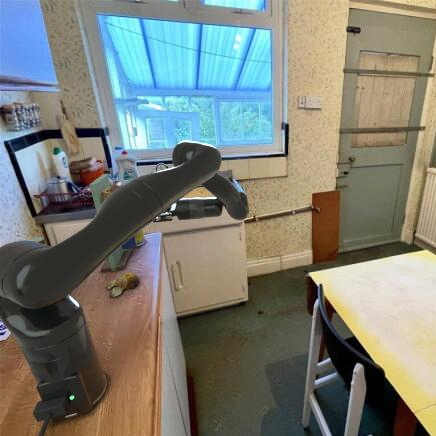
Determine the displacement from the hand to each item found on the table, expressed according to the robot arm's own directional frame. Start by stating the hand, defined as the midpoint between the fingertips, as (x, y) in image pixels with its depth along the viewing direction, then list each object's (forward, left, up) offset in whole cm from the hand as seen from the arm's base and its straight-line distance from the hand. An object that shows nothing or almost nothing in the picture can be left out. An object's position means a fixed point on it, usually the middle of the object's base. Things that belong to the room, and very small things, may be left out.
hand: (141, 212), depth 96 cm
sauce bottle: (-19, +23, -18) cm, 35 cm away
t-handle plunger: (0, +6, -12) cm, 14 cm away
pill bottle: (+13, +6, -18) cm, 23 cm away
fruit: (-16, +7, -18) cm, 25 cm away
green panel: (+1, +8, -18) cm, 20 cm away
